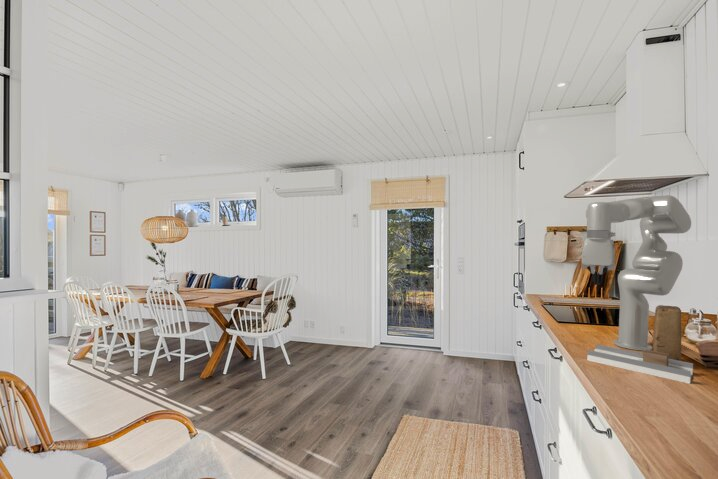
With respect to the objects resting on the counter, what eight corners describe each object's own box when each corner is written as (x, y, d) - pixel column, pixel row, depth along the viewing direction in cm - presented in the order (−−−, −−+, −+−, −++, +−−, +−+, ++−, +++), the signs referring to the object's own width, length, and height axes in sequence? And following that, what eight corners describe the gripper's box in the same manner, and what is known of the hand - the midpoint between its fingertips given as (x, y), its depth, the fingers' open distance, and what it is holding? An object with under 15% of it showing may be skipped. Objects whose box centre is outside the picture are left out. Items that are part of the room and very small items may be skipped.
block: (680, 369, 124) (683, 310, 124) (652, 364, 129) (654, 306, 128) (678, 361, 132) (681, 305, 132) (652, 356, 137) (654, 303, 137)
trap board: (596, 353, 139) (596, 344, 139) (692, 374, 120) (693, 363, 120) (587, 360, 130) (587, 350, 130) (689, 383, 111) (690, 372, 111)
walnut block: (645, 361, 125) (645, 349, 125) (668, 366, 121) (668, 353, 121) (642, 364, 122) (643, 352, 122) (666, 369, 117) (666, 357, 117)
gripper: (624, 236, 136) (622, 285, 136) (578, 235, 146) (576, 281, 146) (621, 235, 130) (619, 287, 130) (573, 235, 140) (572, 283, 141)
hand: (597, 284), depth 138 cm, fingers closed
